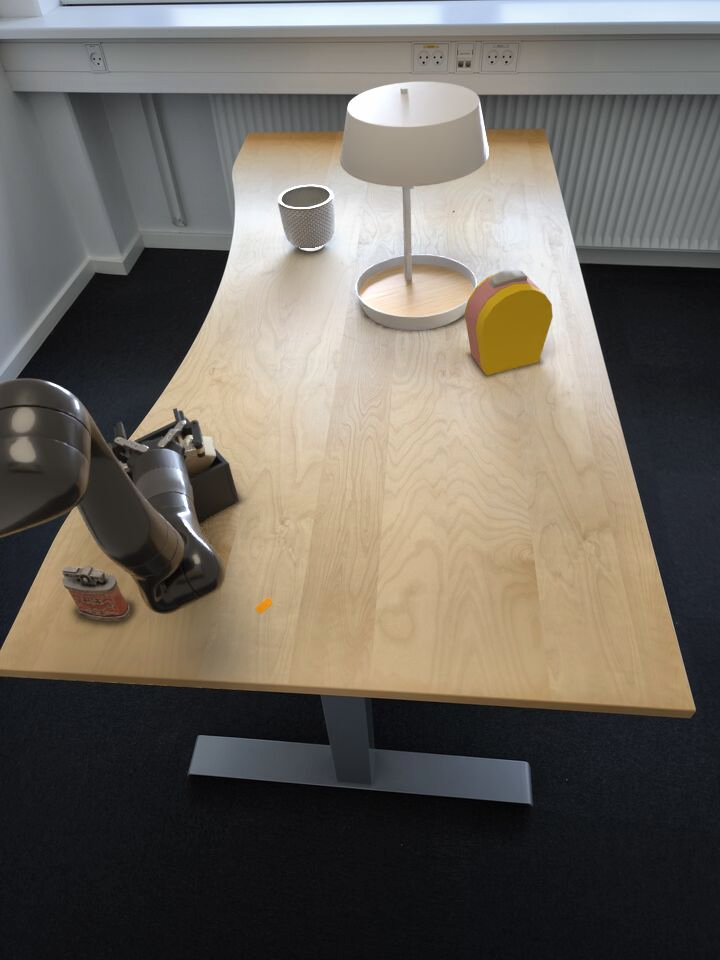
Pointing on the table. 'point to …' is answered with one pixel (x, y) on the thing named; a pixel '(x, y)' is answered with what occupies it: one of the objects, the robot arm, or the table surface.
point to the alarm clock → (507, 322)
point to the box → (200, 464)
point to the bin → (202, 480)
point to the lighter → (95, 593)
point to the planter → (307, 215)
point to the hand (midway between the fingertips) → (148, 419)
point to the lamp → (407, 163)
